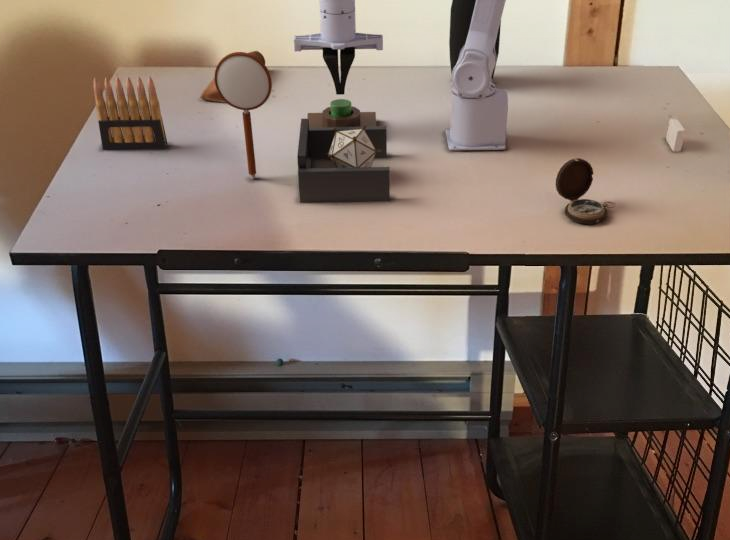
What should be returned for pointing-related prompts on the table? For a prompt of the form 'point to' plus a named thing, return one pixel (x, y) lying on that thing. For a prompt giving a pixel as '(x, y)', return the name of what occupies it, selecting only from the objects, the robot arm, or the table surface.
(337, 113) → the button
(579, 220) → the compass
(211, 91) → the sunglasses case
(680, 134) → the eraser
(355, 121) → the box
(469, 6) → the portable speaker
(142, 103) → the ammunition clip
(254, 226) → the table surface
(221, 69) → the magnifying glass
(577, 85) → the table surface
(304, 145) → the cubby
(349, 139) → the game die
